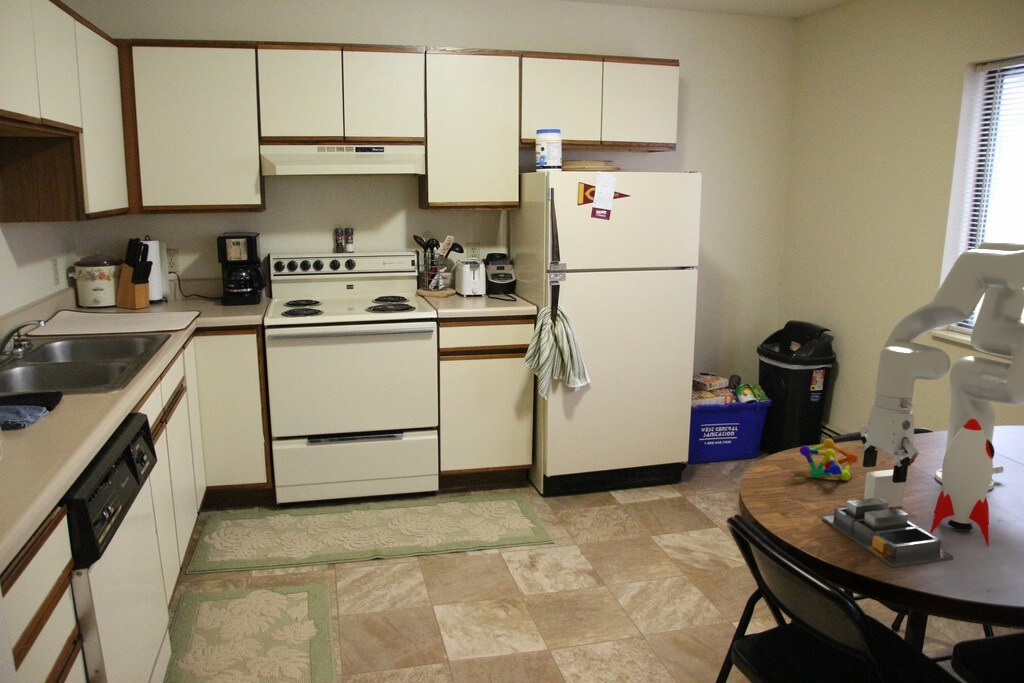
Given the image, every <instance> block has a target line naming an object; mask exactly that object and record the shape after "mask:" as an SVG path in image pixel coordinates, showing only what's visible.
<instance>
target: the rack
mask: <svg viewBox="0 0 1024 683" xmlns="http://www.w3.org/2000/svg"><path fill="white" fill-rule="evenodd" d="M888 504H889V503H888V502H886V501H885V500H883V499H881V498H879V497H877V498H869V499H864V498H862V499H861V498H860V499H853V500H852V499H851V500H847V501H846V506H845V507H838V508H834V510H833V511H834V512H833V513H834V514H833V515H832V514H831V515H824V516H822V518H821V519H822V520H823V521H824V522H826V523H827V524H828V525H830V526H831V527H833V528H834V529H836V530H837V531H839V532H840V533H841V534H843V535H845V536H846V537H847V538H849V539H850V540H852V541H853V542H855V543H856V544H858V545H859V546H861V547H862V548H864V549H865V550H867V551H868V552H869V553H871V554H872V555H874V556H875V557H877V558H878V559H879V560H881V561H882V562H883V563H885V564H887V566H890V567H891V568H892V569H893V568H898V567H906V565H907V566H913V565H920V564H921V565H922V564H928V563H934V562H941V561H947V560H949V561H950V560H954V555H952V554H950V553H949V552H947V551H946V550H944V549H942V548H941V547H942V546H941V545H942V540H941V539H939V538H938V537H936V536H934V535H932V533H931V534H930V532H927V531H926V530H924V529H923V528H921V527H919V526H917V525H916V524H914V523H912V522H911V521H909V520H908V519H909V513H907V512H905V511H903V509H902V510H901V509H900V508H899V507H895V508H888Z"/></svg>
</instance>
